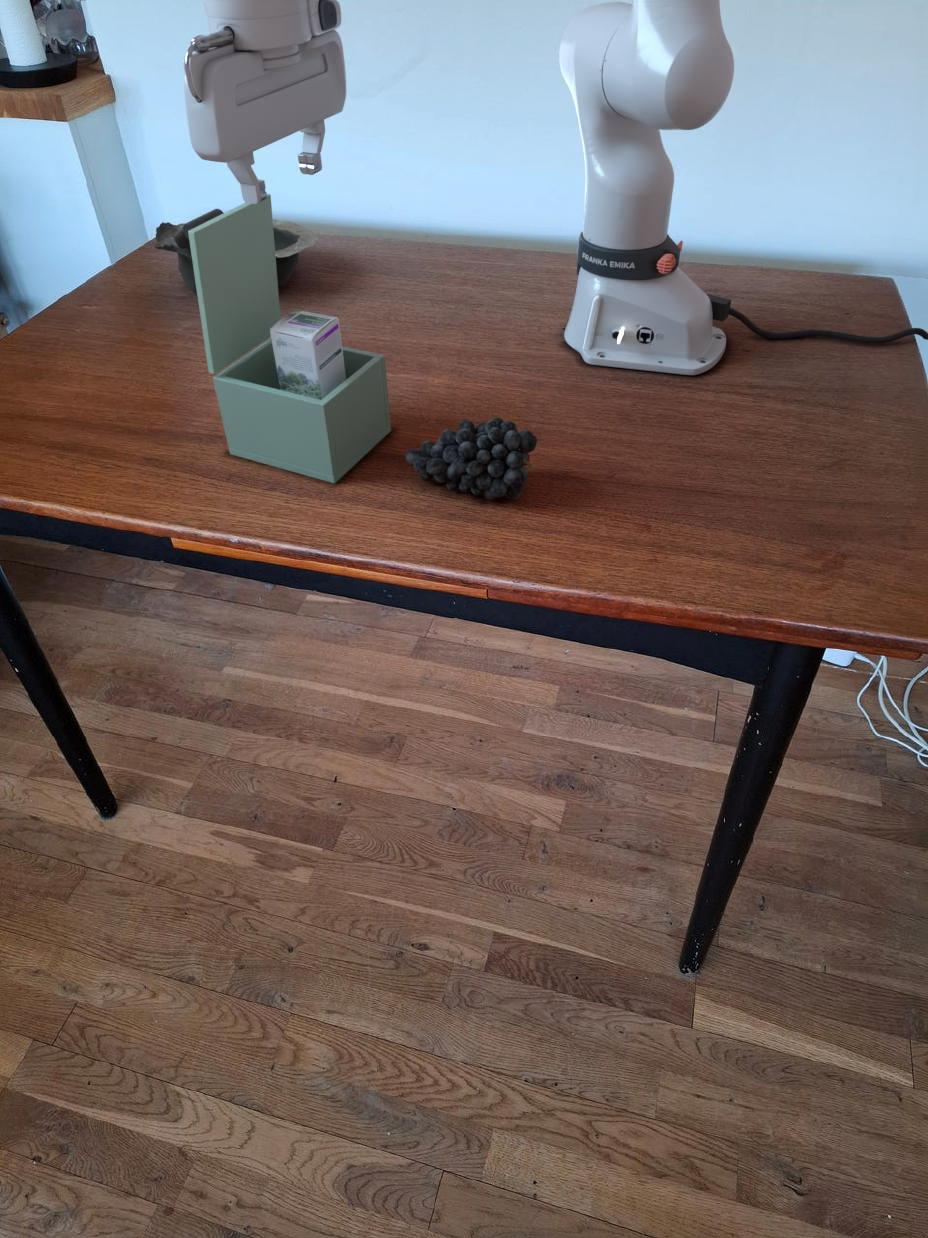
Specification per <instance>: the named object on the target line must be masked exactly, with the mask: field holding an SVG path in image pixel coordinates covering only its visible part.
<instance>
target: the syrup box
mask: <svg viewBox="0 0 928 1238" xmlns="http://www.w3.org/2000/svg"><path fill="white" fill-rule="evenodd" d="M270 335H271V336H270V338H271V340H272V346H273V351H274V357H275V362H276V367H277V373H278V378H279V384H280V390H283V391H287V392H291V393H295V394H299V395H303V396H307V397H311V398H315V399H319V400H322V399H323V398H324V397H326V396H327V395H328V394H329V393H331V392H332V391H333V390H334V389H335V388H337V387H338V386H339V385H340V384H342V383H343V382H344V381H345V380H346V375H345V366H344V358H343V348H342V346H343V342H342V341H343V340H342V333H341V326H340V319H339V317H338V316H330V315H327V314H322V313H316V312H310V311H305V310H299V309H294V310H292V311H291V312H290V313H287V314H286V315H284V316H283V317H282V318H280V320H279V321H278V322H277V323H276V324H275V325H274V326H273V327H272V328H270Z"/></svg>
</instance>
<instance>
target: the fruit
mask: <svg viewBox="0 0 928 1238" xmlns="http://www.w3.org/2000/svg"><path fill="white" fill-rule="evenodd" d="M457 430H458V431H456V430H454V429H451V428H447V429H444V430H443V431H442V432H441V433H440V437H439V438H438V439H437V441H436V443H435V442H434V441H432V440H424V441H423V442H421V445H420V446H419V449H416V448H411V449H408V450H407V452H406V453H405V462H406V463H407V464H408V465H409V466H411V467H413V470H414V471H415V473H416V474H418V476H419V479H421V480H422V481H423V482H424V483H427V482H431V481H433V479H434V481H436V482H437V483H438V484H444V483H445V485H446V488H447V490H448V491H450V492H457V491H458V490H460V491H461V492H462V493H467V494H468V493H470V492H471V493H472V494H473V495H475V496H477V497H479V496H482V497H484V498H485V500H488V501H495V500H496V499H497V498H502V497H504V496H505V497H506V498H507V499H509V500H516V499H518V498H519V497H520V496H521V494H522V492H523V489H524V487H525V482H527V480H528V476H529V472H528V470H527V468H526V467H525V466H528V467H530V468H531V469H534V468H535V467H534V465H533V463H531V462H530V459H531V458H530V453H532V452H533V451H534V450H535V449H536V446H537V442H538V438H537V436H536V435H534V433H533V432H532V431H531V430H528V429H522V430H520V431H518V428H517V425H516V423H515V422H513V421H511V420H504V418H502V417H498V416H495V417H493V418H492V419H490V420H489V421H481V422H479V423H478V424H477V425H476V426H475V423H474V422H473V421H472V420H471V419H462V420H461V421H460V422H459V423H458V426H457Z"/></svg>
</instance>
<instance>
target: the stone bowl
mask: <svg viewBox="0 0 928 1238" xmlns="http://www.w3.org/2000/svg"><path fill="white" fill-rule="evenodd" d="M183 226H184V224H183V225H177V224H173V223H171V222H170V221H169V222H168V221H167V222H163V221H162V222H161V223H160V224H159V225H158V226H157V227H155V239H156V242H157V243H155V245H153V248H154V249H158V250H165V251H168V252H172V253H177V261H178V262H177V263H178V264H177V265H178V270H179V273H180V276H181V278H182V280H183V282H184V284H185V285H186V287H187V288H189V290H190V291H191V292H193V293H194V294H197V289H196V282H195V275H194V268H193V261H192V254H191V248H190V241H189V239H187V237H186V236H185V235H184V232H183ZM273 231H274V244H275V256H276V269H277V282H278V288H279V287H283V286H285V285H286V284H287V283H288V282H289V280H290V278H291V276H292V275H293V273H294V271H295V269H296V266H297V264H298V260H299V256H300V252H302V251H303V250H304V249H307V248H310V247H313V246H314V245H315V243H316V242H317V240H318V239H319V235H316V234H315V233H314V232H313V230H311V229H309V228H307V227H304V226H303V225H300V224H297V223H295V222H292V221H285V220H282V221H281V220H277V219H274V218H273Z"/></svg>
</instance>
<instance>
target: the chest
mask: <svg viewBox="0 0 928 1238" xmlns="http://www.w3.org/2000/svg"><path fill="white" fill-rule="evenodd" d="M342 348H343V358H344V366H345V375H346V380H345V381H344V382H343V383H342V384H340V385H339V386H338V387H337V388H335V389H334V390H333V391H332V392H331V393H329V394H328V395H327V396H326V397H324V398H323V399H322V400H319V399H315V398H311V397H307V396H303V395H299V394H295V393H291V392H287V391H283V390H280V384H279V378H278V373H277V367H276V362H275V357H274V351H273V346H272V340H271V337H269V338H268V339H266V340H265V341H263V342H262V343H260V344H259V345H257V346H256V347H254V348H253V349H252V350H250V351H249V352H247V353H246V354H244V355H243V356H241V357H240V359H239V358H238V359H237V360H235V361H234V363H233V362H232V363H231V364H229V365H228V366H227V367H225V368H224V369H222V370H221V371H219V372H218V373H217V374H215V376H213V377H212V381H213V386H214V389H215V395H216V399H217V402H218V408H219V412H220V417H221V420H222V424H223V429H224V433H225V438H226V443H227V446H228V451H229V455H230V456H231V455H232V456H236V457H239V458H242V459H246V460H250V461H253V462H256V463H261V464H264V465H267V466H270V467H274V468H277V469H282V470H285V471H289V472H292V473H295V474H299V475H302V476H306V477H309V478H313V479H317V480H319V481H324V482H327V483H331V484H336V483H337V482H338V481H339V480H340V479H341V478H342V477H344V476H345V475H346V474H347V473H348V472H349V471H350V470H351V469H352V468H353V467H354V466H355V465H356V464H357V463H358V462H360V461H361V460H362V459H363V458H364V457H365V456H366V455H367V454H368V453H369V452H370V451H372V449H373V448H374V447H375V446H377V445H378V444H379V443H380V442H381V441H382V440H383V439H384V438H385V437H386V436H387V435H389V433H391V432H392V425H391V413H390V401H389V389H388V378H387V377H388V376H387V366H386V355H385V354H382V353H381V354H380V353H375V352H371V351H368V350H362V349H358V348H354V347H349V346H344V345H342Z"/></svg>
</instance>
